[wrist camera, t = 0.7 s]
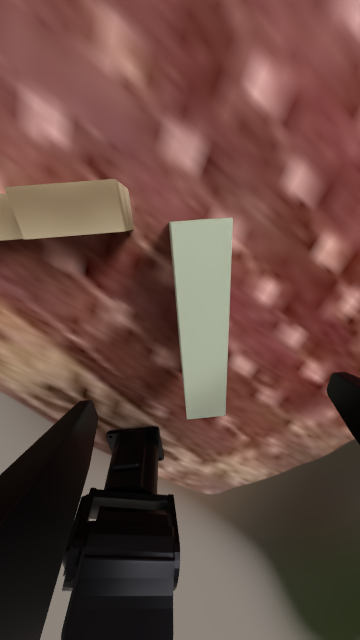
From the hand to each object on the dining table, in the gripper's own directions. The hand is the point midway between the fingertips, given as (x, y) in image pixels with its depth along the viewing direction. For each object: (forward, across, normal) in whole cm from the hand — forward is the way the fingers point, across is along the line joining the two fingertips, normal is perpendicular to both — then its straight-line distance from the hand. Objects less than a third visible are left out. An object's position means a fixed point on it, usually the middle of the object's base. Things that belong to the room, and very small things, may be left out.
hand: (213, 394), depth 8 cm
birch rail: (+12, +12, -7) cm, 18 cm away
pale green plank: (+12, 0, 0) cm, 12 cm away
